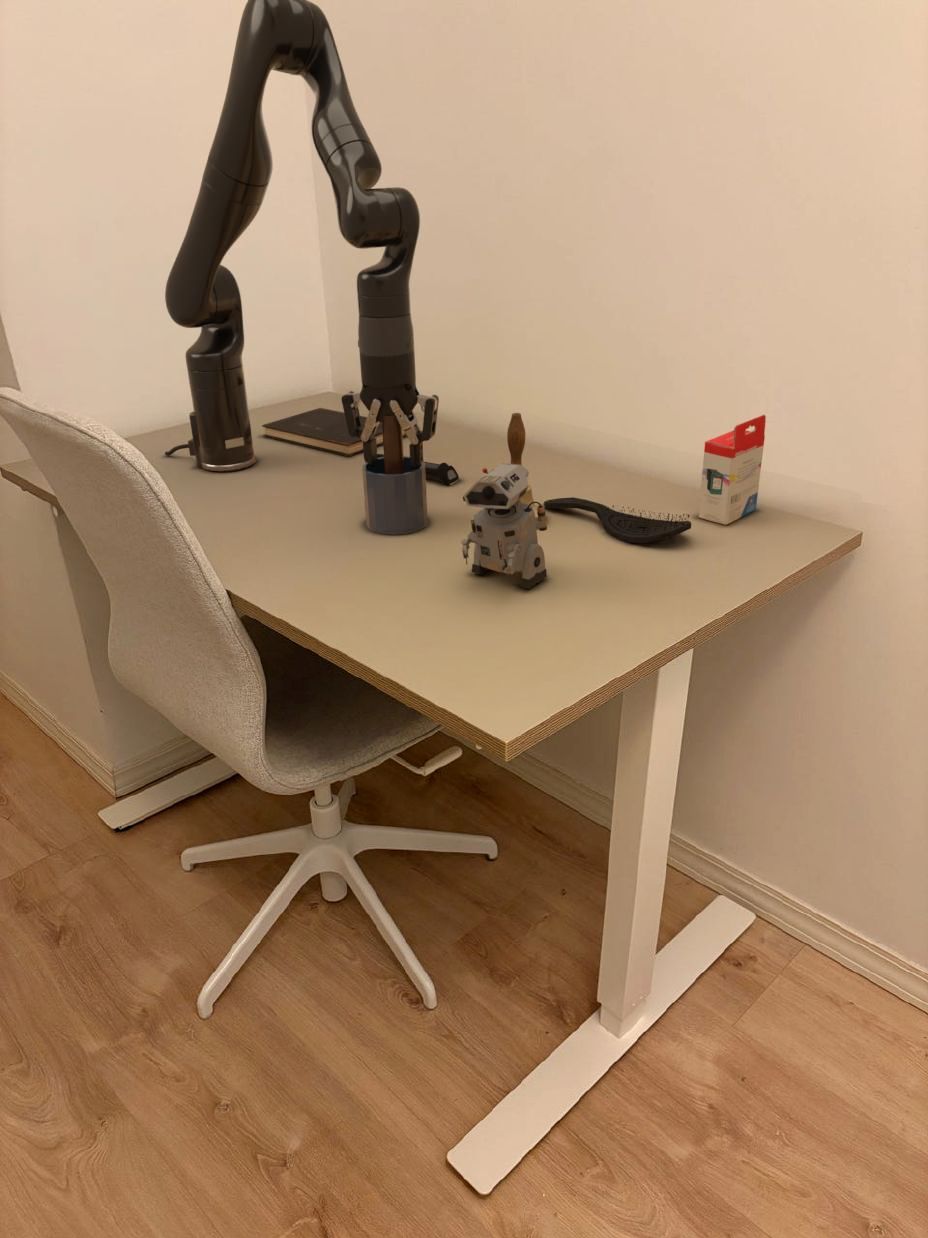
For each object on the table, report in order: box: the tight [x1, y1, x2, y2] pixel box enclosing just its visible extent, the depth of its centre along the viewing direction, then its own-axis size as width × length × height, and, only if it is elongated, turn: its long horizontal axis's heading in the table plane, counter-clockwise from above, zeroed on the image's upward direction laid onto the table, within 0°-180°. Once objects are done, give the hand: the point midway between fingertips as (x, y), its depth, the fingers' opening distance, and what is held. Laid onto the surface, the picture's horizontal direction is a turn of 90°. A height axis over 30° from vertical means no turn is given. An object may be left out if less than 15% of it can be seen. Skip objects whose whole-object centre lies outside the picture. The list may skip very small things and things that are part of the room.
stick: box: [382, 415, 405, 474], centre depth 140 cm, size 3×3×16 cm
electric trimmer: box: [377, 453, 459, 486], centre depth 163 cm, size 4×16×3 cm, turn 57°
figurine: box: [460, 463, 548, 590], centre depth 121 cm, size 9×12×15 cm
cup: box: [361, 455, 428, 536], centre depth 142 cm, size 9×9×9 cm
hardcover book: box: [261, 407, 407, 458], centre depth 185 cm, size 16×23×2 cm
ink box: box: [698, 414, 767, 526], centre depth 141 cm, size 8×5×15 cm, turn 135°
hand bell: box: [506, 412, 538, 517], centre depth 140 cm, size 8×8×16 cm
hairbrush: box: [543, 496, 692, 544], centre depth 141 cm, size 8×4×25 cm
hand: (393, 465), depth 140 cm, fingers open, 6 cm apart
